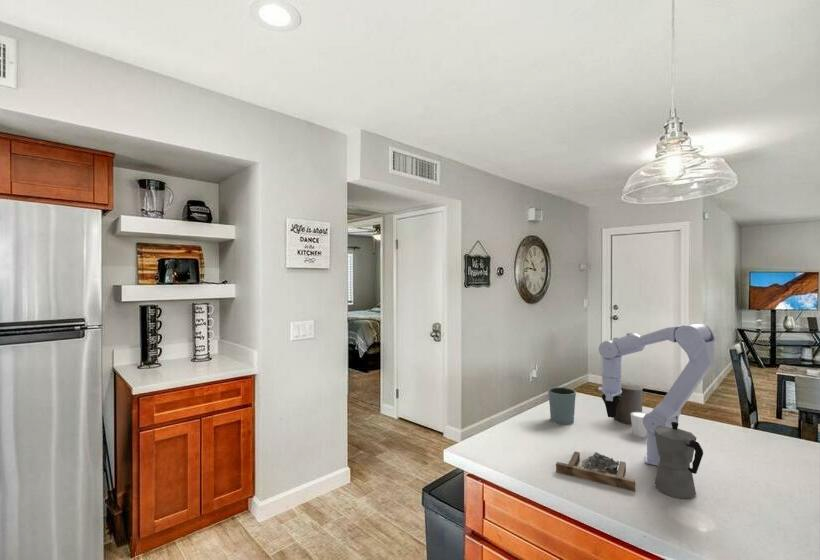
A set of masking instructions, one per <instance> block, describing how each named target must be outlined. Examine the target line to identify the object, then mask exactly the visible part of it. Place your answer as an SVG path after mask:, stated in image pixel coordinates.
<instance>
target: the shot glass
mask: <svg viewBox="0 0 820 560" xmlns="http://www.w3.org/2000/svg"><path fill="white" fill-rule="evenodd" d="M646 414H647V412H643V411H642V412H632V413H631V423H632V425H631V429H632V430H631V432H632V435H634V436H637V437H641V438H647V430H646V428H645V427H644V425H643V417H644V416H645V415H646Z"/></svg>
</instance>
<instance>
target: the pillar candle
mask: <svg viewBox="0 0 820 560" xmlns="http://www.w3.org/2000/svg"><path fill="white" fill-rule="evenodd" d="M621 390H622V393H621V394H619V395H621V400H620V401H619V403H618V407H617V412H616V416H615V418H614V420H615V422H618V423H620V424H623V425H624V424H625V425H630V426H632V423H631V413H632V412H643V391H644V389H643V386H641V385H638V384H635V383H630V382H621Z"/></svg>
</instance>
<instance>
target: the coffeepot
mask: <svg viewBox="0 0 820 560" xmlns="http://www.w3.org/2000/svg"><path fill="white" fill-rule="evenodd" d="M671 424H672V428H669V427H665V426H656V427H657V429H654V432H655V438H656V444H657V450H658V454H659V456H660V462H659V463H658V466H657V468H656V469H657V470H656V474H655V479H654V485H655V488H656V489H657V490H658V491H659V492H660V493H662V494H664V495H666V496H668V497H671V498H675V499H679V500H680V499H681V500H688V499H693V498H694V497H695V496H697V492H696V487H695V481H694V477H693V474H694V475H696V474H697V473H698V469H699V468H700V464H701V461H702V458H703V455H704V451H703V448H702V446H701V445H700V443H699V442H698V441H697V437H696V435H694V434H693V433H692V432H690V431H687V430H684V429H682V428H681V429H680V428H678V427H679V422H678V423H677V422H671ZM693 457H694V458H693ZM691 463H692V465H691ZM691 466H692V467H691Z"/></svg>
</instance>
